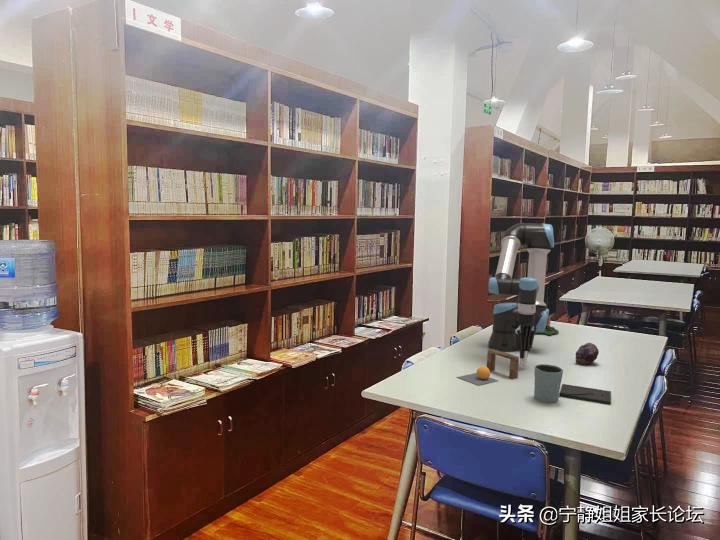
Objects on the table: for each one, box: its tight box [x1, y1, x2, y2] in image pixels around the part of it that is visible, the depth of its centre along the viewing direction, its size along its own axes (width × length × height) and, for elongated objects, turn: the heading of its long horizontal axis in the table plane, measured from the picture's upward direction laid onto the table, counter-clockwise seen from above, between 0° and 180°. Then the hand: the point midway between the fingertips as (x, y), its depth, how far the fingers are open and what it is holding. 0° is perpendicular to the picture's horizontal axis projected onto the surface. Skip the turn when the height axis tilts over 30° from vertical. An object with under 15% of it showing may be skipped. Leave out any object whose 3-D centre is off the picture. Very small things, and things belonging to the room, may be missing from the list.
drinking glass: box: [533, 363, 564, 404], centre depth 200 cm, size 10×10×12 cm
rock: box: [575, 342, 600, 366], centre depth 251 cm, size 12×9×10 cm
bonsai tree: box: [535, 290, 559, 336], centre depth 311 cm, size 35×24×32 cm
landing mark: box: [456, 372, 499, 387], centre depth 222 cm, size 12×12×1 cm
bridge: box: [486, 348, 520, 380], centre depth 230 cm, size 3×14×9 cm, turn 35°
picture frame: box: [559, 383, 612, 406], centre depth 206 cm, size 13×2×18 cm
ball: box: [476, 365, 491, 380], centre depth 222 cm, size 6×6×6 cm
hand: (523, 364), depth 238 cm, fingers closed
